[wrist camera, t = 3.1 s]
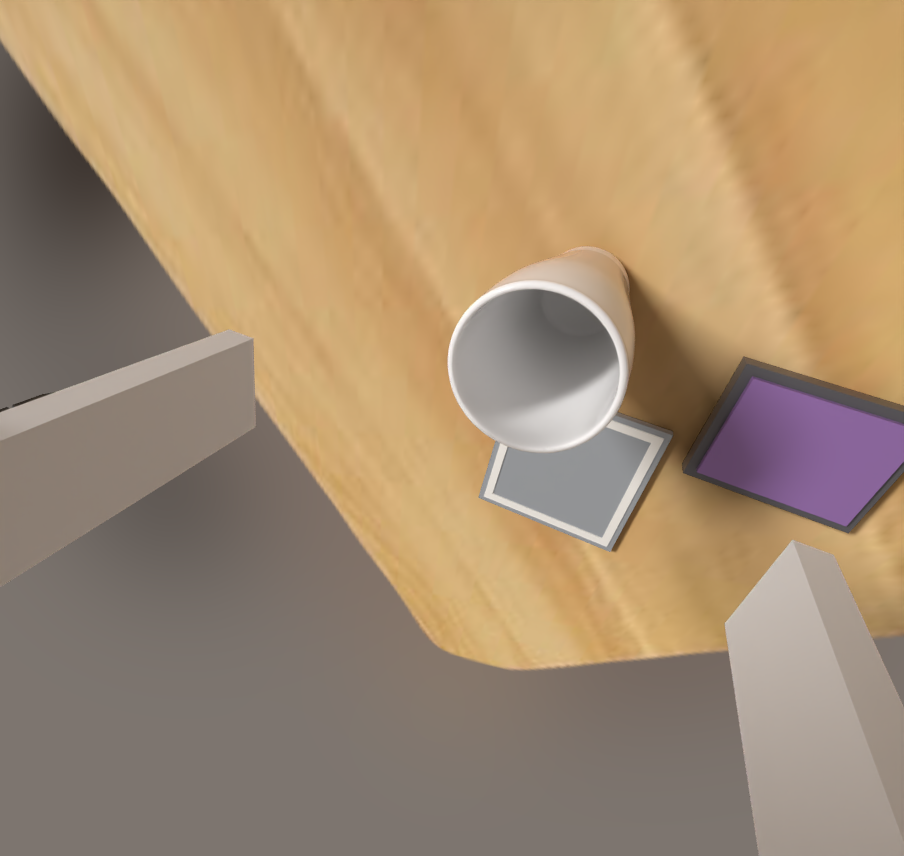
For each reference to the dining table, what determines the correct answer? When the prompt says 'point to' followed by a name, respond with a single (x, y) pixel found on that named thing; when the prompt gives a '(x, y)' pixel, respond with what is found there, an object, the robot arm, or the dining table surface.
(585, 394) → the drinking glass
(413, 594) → the dining table surface
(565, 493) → the plate
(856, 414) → the ink pad
